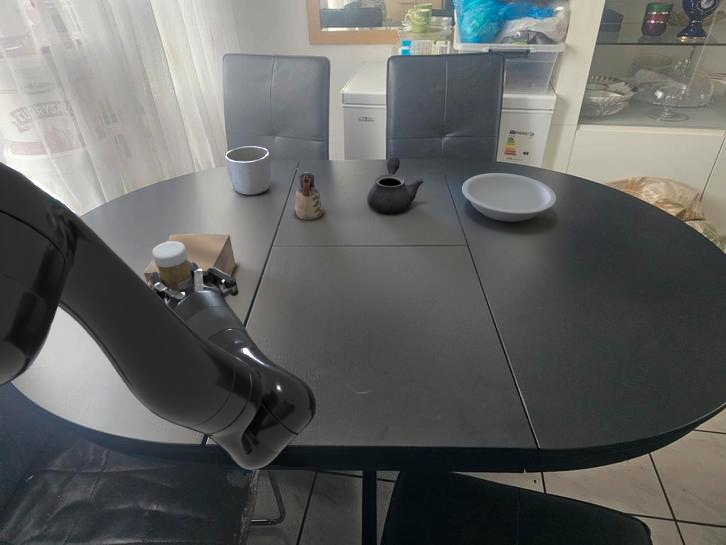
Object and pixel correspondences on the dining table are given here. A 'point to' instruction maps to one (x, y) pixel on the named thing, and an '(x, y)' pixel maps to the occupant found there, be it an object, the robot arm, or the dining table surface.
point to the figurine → (308, 198)
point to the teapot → (392, 190)
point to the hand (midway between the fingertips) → (171, 271)
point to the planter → (249, 169)
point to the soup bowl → (508, 196)
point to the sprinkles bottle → (173, 265)
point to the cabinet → (203, 253)
